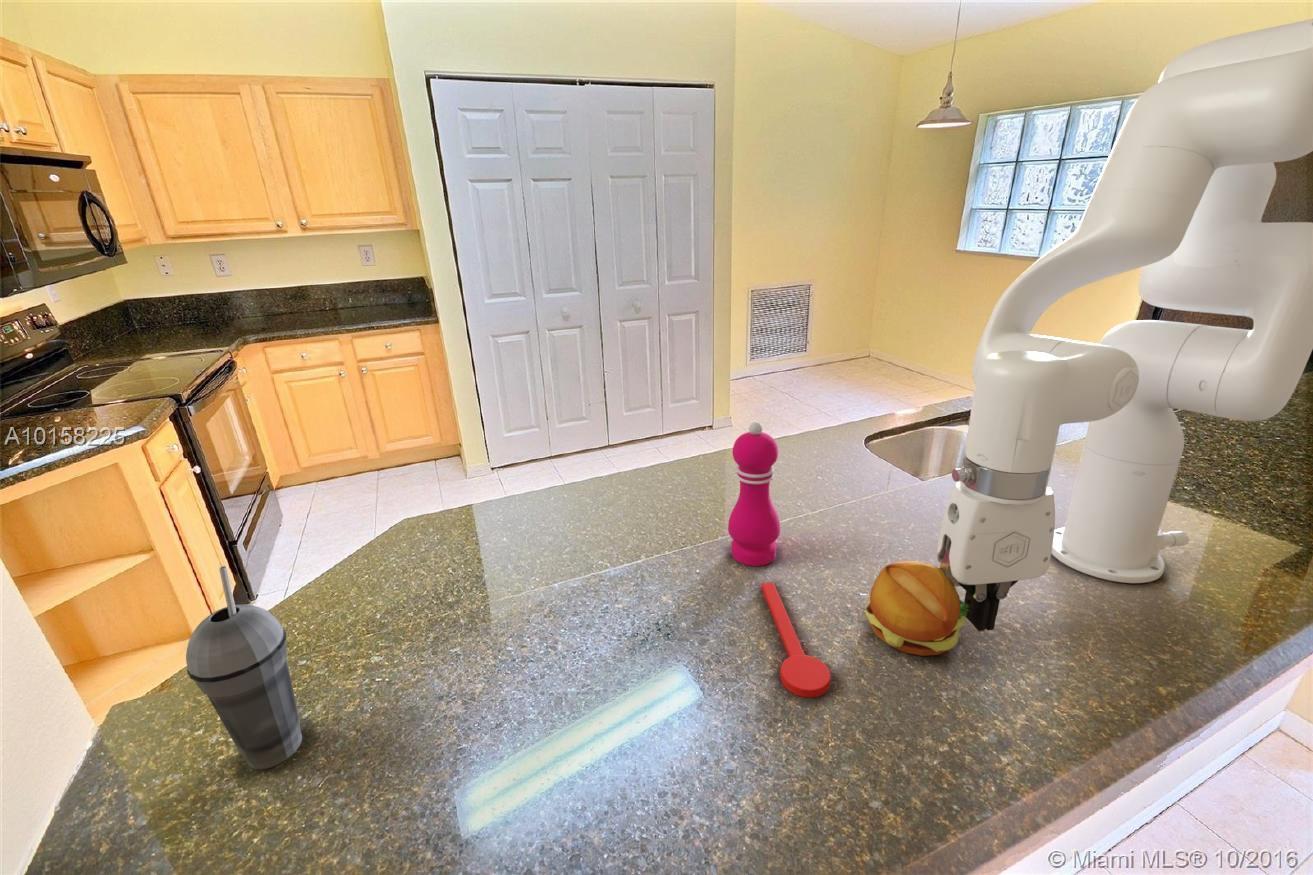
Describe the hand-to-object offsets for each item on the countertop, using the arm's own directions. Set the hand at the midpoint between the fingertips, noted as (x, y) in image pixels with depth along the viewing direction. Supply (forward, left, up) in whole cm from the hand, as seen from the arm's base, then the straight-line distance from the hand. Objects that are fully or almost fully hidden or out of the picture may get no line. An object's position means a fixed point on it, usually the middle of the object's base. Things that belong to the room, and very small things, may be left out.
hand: (978, 622), depth 65 cm
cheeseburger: (+7, 0, -2) cm, 8 cm away
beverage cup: (+73, +8, -2) cm, 74 cm away
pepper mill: (+21, -19, -2) cm, 29 cm away
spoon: (+21, -1, -1) cm, 21 cm away
